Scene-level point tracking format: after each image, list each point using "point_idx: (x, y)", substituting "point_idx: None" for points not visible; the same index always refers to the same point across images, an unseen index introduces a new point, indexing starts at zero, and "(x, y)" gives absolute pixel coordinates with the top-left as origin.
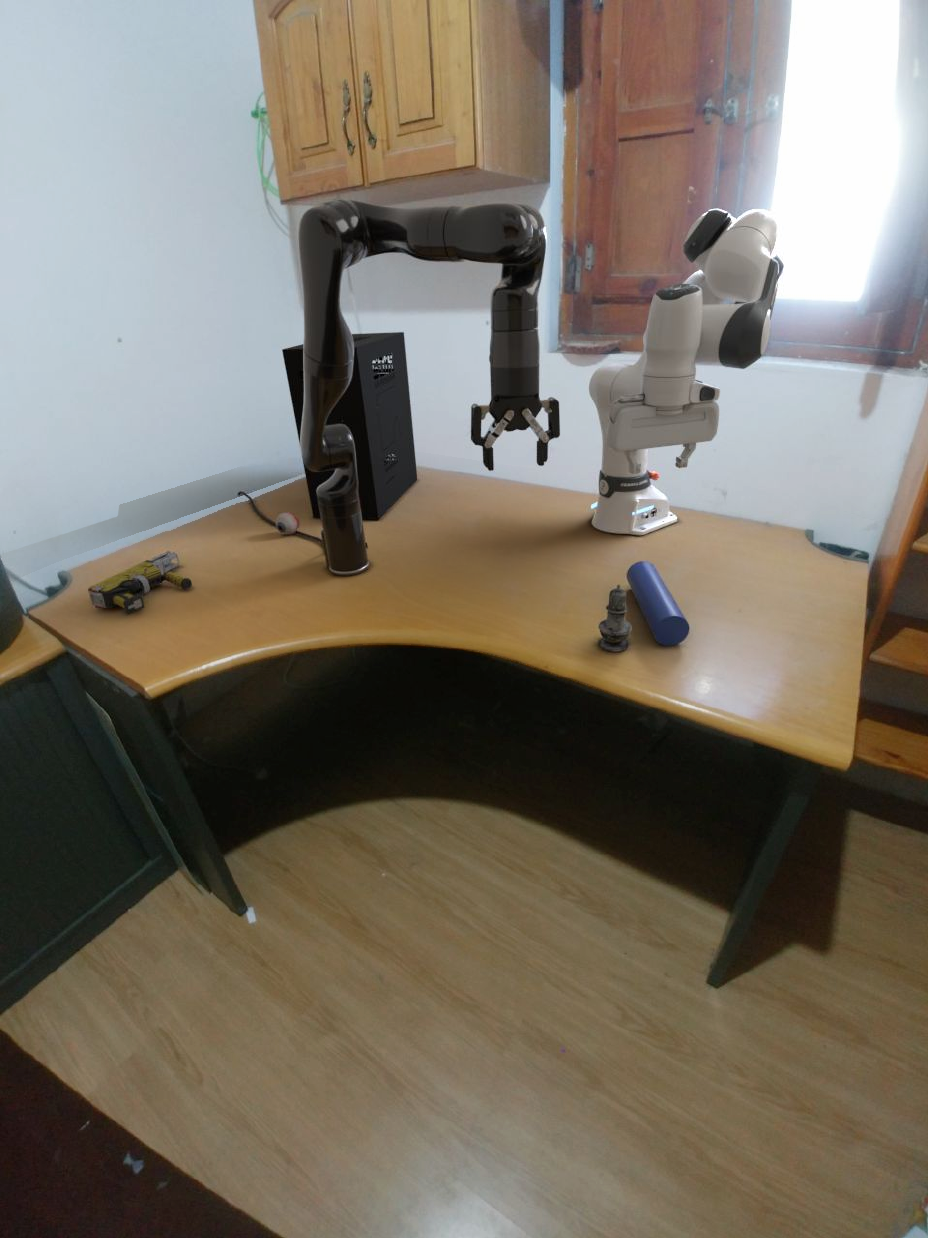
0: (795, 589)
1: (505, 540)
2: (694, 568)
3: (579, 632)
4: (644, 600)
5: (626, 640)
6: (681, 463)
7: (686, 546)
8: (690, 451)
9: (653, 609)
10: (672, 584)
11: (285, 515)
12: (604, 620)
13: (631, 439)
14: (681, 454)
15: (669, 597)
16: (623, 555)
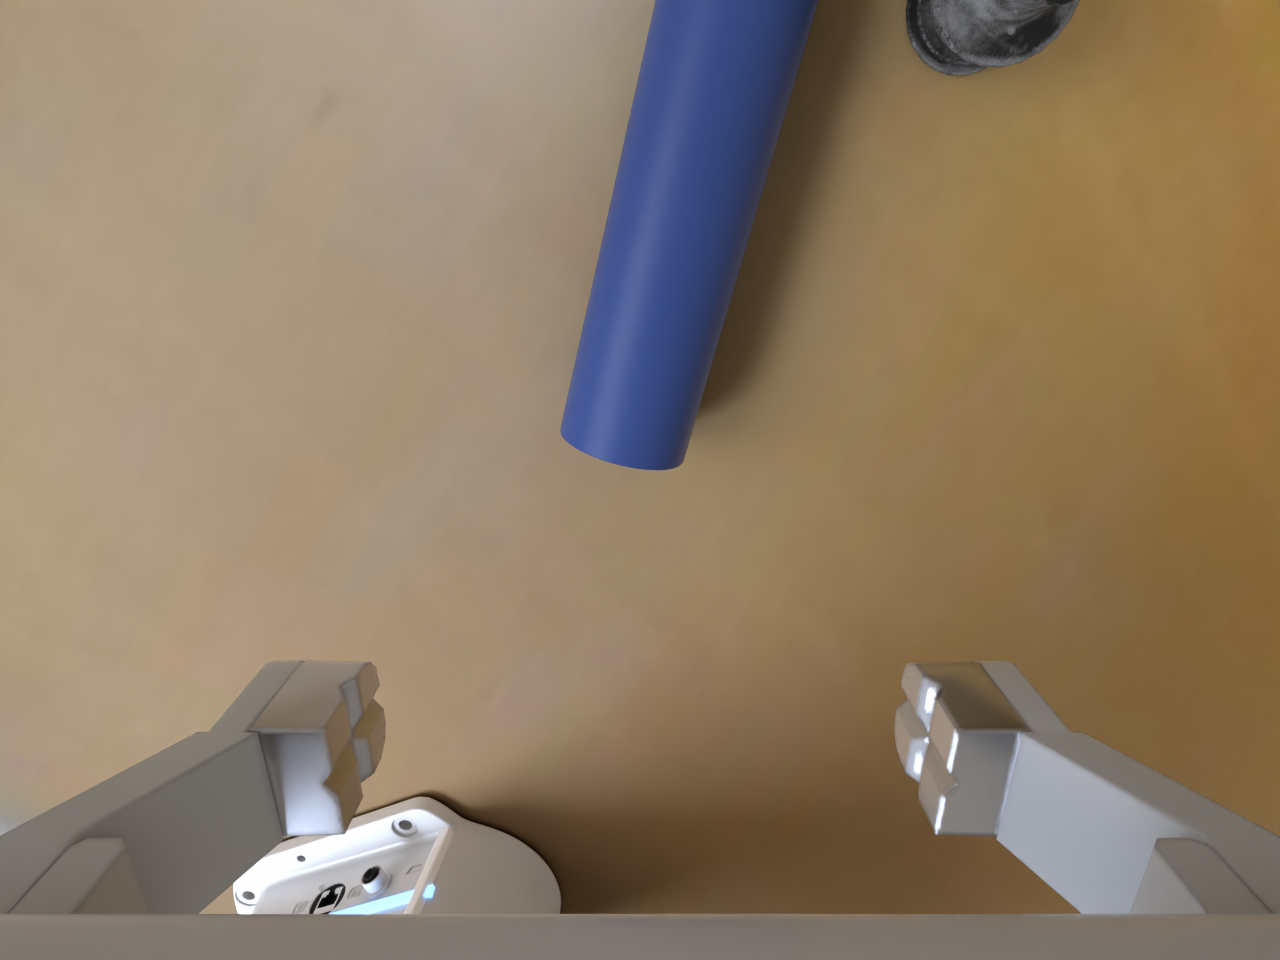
0: (8, 205)
1: (902, 892)
2: (343, 504)
3: (1033, 155)
4: (770, 153)
5: (912, 2)
6: (336, 690)
7: None
8: (123, 803)
9: (801, 13)
10: (489, 409)
11: None
12: (1022, 51)
13: None
14: (259, 850)
15: (689, 66)
16: (559, 678)
